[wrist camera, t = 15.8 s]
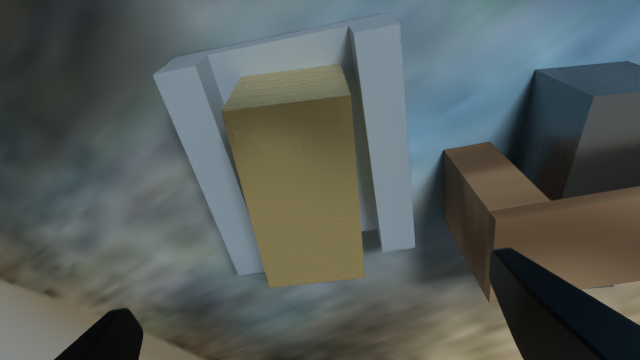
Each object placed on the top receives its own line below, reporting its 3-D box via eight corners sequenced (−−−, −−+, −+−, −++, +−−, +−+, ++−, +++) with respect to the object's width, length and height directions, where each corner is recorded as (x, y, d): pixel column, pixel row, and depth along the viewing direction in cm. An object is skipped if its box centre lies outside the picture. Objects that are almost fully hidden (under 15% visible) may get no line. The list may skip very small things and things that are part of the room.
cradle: (175, 57, 14) (149, 75, 11) (386, 13, 13) (403, 23, 11) (245, 238, 18) (236, 276, 16) (403, 211, 18) (417, 246, 15)
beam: (443, 150, 16) (495, 220, 12) (729, 98, 15) (902, 153, 11) (444, 220, 18) (489, 303, 14) (695, 178, 17) (829, 252, 13)
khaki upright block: (241, 76, 13) (220, 111, 10) (340, 63, 13) (350, 94, 10) (276, 227, 17) (269, 288, 13) (354, 218, 16) (364, 277, 13)
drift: (532, 68, 14) (593, 96, 11) (622, 59, 14) (708, 85, 11) (494, 240, 19) (531, 293, 16) (563, 234, 19) (612, 286, 16)
